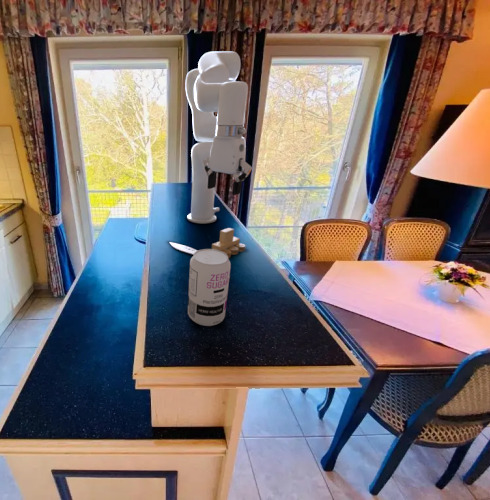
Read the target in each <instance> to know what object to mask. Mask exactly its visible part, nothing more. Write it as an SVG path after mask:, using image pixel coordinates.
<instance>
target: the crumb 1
mask: <svg viewBox="0 0 490 500" xmlns="http://www.w3.org/2000/svg"><path fill="white" fill-rule="evenodd" d="M221 251H222V252H224V253H226V254H227V256H228V259H230V258H231V257H232V254H231V251H230V250H227V249H224V250H221Z"/></svg>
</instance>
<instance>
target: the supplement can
mask: <svg viewBox="0 0 490 500" xmlns="http://www.w3.org/2000/svg"><path fill="white" fill-rule="evenodd" d="M192 255H193V254H192ZM231 265H232V264H231V261H230V258H228V256H227V254H226V253H224V252H222V251H219V250H215V249H212V248H203V249H199V250H198V251H196V252H195V253H194V255H193V256H192V257H191V258H190V260H189V277H188V294H187V295H188V297H187V298H188V299H187V302H188V303H187V315H188V317H189V318H190V319H191V321H193V322H194V323H196V324H198V325H200V326H205V327H212V326H217V325H218V324H220V323H222V322H223V321H224V319H225V318H226V311H227V310H226V309H227V301H228V293H229V283H230V278H229V276H230V277H231V269H232V268H231Z"/></svg>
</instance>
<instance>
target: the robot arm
mask: <svg viewBox="0 0 490 500" xmlns="http://www.w3.org/2000/svg"><path fill="white" fill-rule="evenodd" d="M241 64H242V63H241V58H240V55H239V54H238V53H237V52H235V51H231V50H230V51H227V50H226V51H222V50H221V51H220V50H219V51H214V50H213V51H212V50H211V51H208V52H205V53H204V54H203V55H202V56H201V57H200V59H199V61H198V64H197V65H198V66H197V68H194V69H191V70H190V71H188V72H187V74H186V77H185V83H184V84H185V94H186V98H187V101H188V104H189V106H190V109H191V114H192V131H193V133H192V134H193V137H194V139H195V141H197V143H195V144H194V145H192V147H191V150H190V151H191V152H190V153H191V154H190V157H191V167H192V168H191V170H192V173H191V174H192V179H191V180H192V181H191V202H190V203H191V204H190V213H188V215H187V216H186V219H187V220H188V221H189V222H191V223H194V224H211V223H214V222H216V221H217V215H215V214H216V213H218V212H220V210H221V209H220V207H219V206H218V207H215V193H216V183H217V174H216V173H222V174H227V175H232V177H233V179H234V180H235V181H233V183H232V196H236V195H240V194H241V191H242V187H243V181H245V179H246V178H248V177H249V175H250V173H251V171H252V170H253V167H252V166H251V165H250V164H249V163H248V162H247V161H246V151H247V149H246V147H247V146H246V138H245V137H243V135H245V134H246V133H247V128H245V127H244V126H245V116H246V110H247V101H248V93H249V85H248V83H247V82H245V81H239V80H238V81H237V78H238V76H239V74H240V71H241ZM214 113H217V116H216V115H214Z"/></svg>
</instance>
